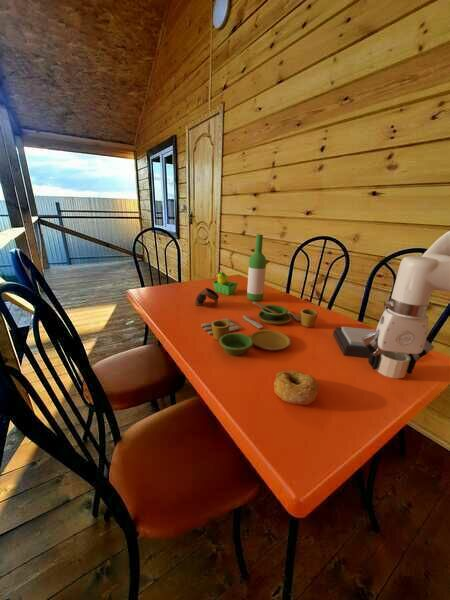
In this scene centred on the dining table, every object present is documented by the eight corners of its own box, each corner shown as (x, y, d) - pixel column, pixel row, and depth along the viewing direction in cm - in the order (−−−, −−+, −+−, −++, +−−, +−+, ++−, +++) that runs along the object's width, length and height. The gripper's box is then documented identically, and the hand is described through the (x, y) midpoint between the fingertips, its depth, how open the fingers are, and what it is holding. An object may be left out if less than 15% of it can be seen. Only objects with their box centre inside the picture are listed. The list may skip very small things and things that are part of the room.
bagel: (307, 377, 65) (309, 361, 63) (324, 409, 54) (328, 391, 53) (268, 377, 64) (270, 361, 63) (278, 409, 54) (281, 391, 52)
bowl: (397, 365, 71) (402, 348, 69) (410, 381, 64) (416, 363, 63) (369, 362, 72) (374, 345, 70) (379, 377, 66) (384, 359, 64)
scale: (382, 339, 86) (384, 331, 85) (402, 361, 73) (405, 352, 72) (332, 334, 88) (334, 326, 87) (343, 355, 75) (345, 346, 74)
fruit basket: (238, 293, 130) (239, 271, 126) (227, 297, 123) (228, 274, 119) (220, 288, 136) (221, 267, 132) (210, 292, 130) (210, 270, 126)
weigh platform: (374, 333, 84) (375, 329, 84) (387, 349, 74) (388, 344, 74) (341, 330, 86) (341, 326, 85) (349, 345, 76) (350, 341, 75)
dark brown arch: (199, 300, 118) (208, 286, 116) (214, 312, 116) (224, 298, 114) (186, 301, 107) (196, 285, 105) (202, 315, 105) (213, 299, 103)
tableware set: (285, 309, 110) (287, 295, 107) (338, 337, 86) (341, 320, 84) (195, 325, 92) (195, 308, 90) (230, 365, 69) (231, 345, 66)
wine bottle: (252, 302, 117) (257, 235, 107) (243, 297, 123) (247, 233, 113) (266, 300, 120) (272, 235, 110) (256, 295, 127) (261, 233, 117)
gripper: (375, 309, 60) (359, 372, 66) (457, 316, 57) (433, 381, 63) (364, 299, 67) (351, 357, 73) (437, 305, 64) (417, 364, 70)
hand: (389, 368), depth 68 cm, fingers open, 7 cm apart
